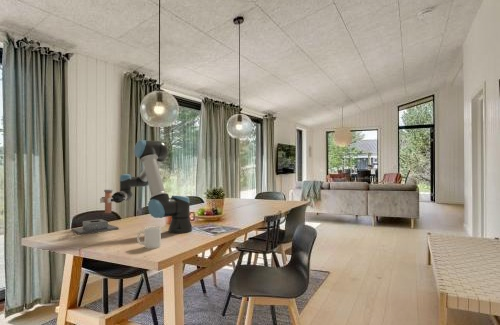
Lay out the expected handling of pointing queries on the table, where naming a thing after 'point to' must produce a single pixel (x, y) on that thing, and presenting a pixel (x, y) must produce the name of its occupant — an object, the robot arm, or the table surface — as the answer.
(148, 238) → the cup
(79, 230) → the hitch plate
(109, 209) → the pin
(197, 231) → the table surface
